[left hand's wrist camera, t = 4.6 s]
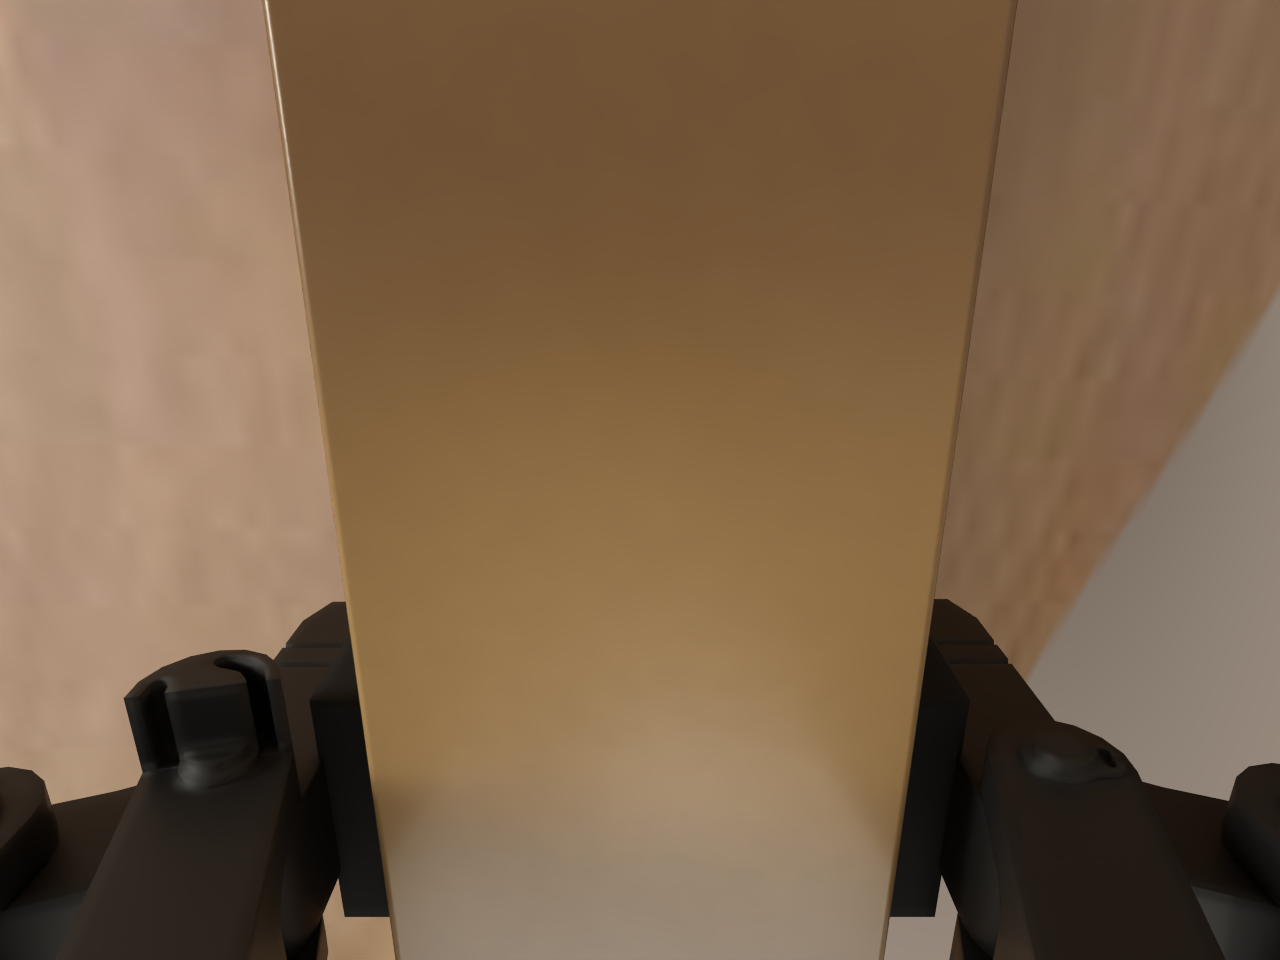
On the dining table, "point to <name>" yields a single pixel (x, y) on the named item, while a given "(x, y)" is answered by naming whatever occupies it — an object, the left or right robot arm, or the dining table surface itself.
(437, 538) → the bar
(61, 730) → the dining table surface
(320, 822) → the left robot arm
